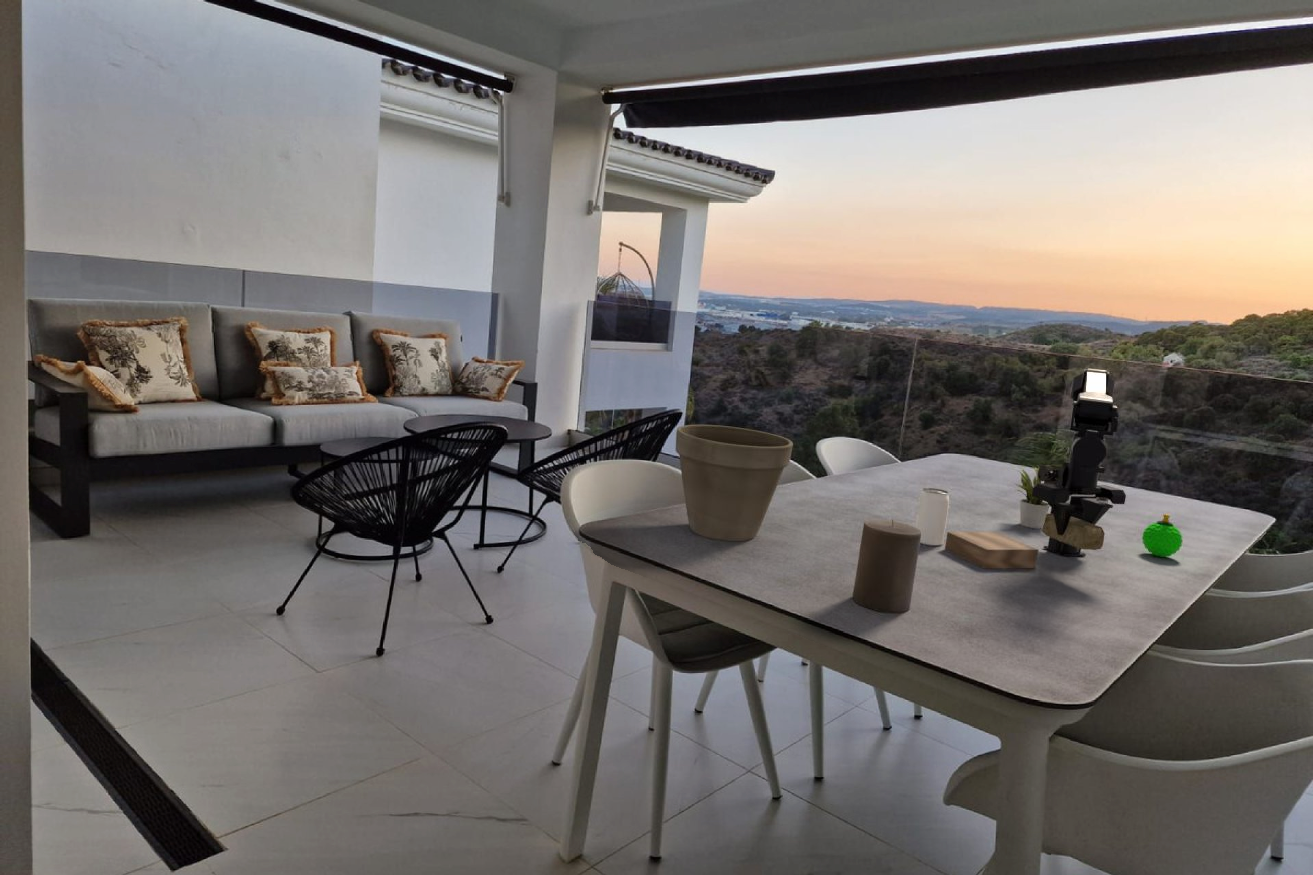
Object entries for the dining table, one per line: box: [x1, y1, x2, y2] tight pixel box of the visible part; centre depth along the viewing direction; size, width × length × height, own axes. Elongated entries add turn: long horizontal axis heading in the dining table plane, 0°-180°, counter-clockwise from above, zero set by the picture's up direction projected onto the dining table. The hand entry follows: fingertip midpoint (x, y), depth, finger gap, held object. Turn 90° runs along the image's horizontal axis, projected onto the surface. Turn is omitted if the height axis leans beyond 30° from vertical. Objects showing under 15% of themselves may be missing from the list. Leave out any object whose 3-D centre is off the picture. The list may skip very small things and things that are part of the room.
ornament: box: [1141, 513, 1184, 558], centre depth 195 cm, size 8×8×10 cm
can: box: [914, 487, 950, 547], centre depth 188 cm, size 6×6×12 cm
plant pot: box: [675, 424, 794, 542], centre depth 179 cm, size 25×25×22 cm
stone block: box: [1041, 513, 1105, 551], centre depth 170 cm, size 6×12×5 cm, turn 19°
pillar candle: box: [852, 518, 921, 614], centre depth 143 cm, size 10×10×15 cm
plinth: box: [944, 531, 1039, 569], centre depth 180 cm, size 13×13×4 cm
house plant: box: [1014, 465, 1051, 530], centre depth 214 cm, size 14×14×16 cm
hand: (1072, 534), depth 170 cm, fingers closed on stone block, 6 cm apart
